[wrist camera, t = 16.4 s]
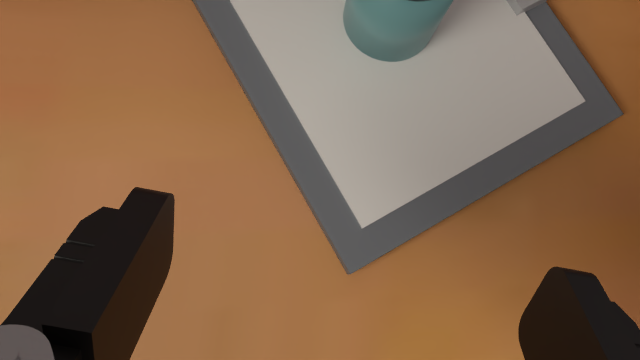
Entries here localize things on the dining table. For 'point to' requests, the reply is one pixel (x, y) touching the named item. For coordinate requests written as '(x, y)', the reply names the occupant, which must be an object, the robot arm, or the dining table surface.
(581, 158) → the dining table surface
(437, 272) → the dining table surface
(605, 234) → the dining table surface
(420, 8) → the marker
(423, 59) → the grey flat block
